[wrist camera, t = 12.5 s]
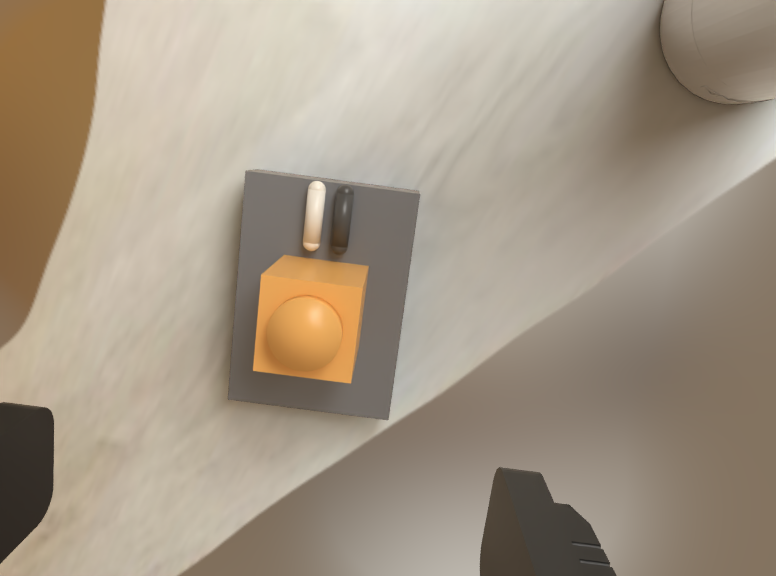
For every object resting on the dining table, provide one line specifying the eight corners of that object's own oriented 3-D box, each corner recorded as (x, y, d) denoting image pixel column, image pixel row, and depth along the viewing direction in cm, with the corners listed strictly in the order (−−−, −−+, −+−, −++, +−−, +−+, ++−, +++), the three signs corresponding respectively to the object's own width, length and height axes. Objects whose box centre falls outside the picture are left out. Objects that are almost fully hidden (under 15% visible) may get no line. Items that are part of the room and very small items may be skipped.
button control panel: (257, 169, 37) (220, 173, 30) (418, 190, 37) (423, 200, 30) (240, 381, 40) (202, 436, 33) (389, 401, 40) (386, 459, 33)
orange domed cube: (284, 254, 35) (256, 278, 29) (368, 265, 35) (361, 292, 29) (276, 336, 36) (247, 377, 30) (358, 346, 37) (349, 391, 30)
